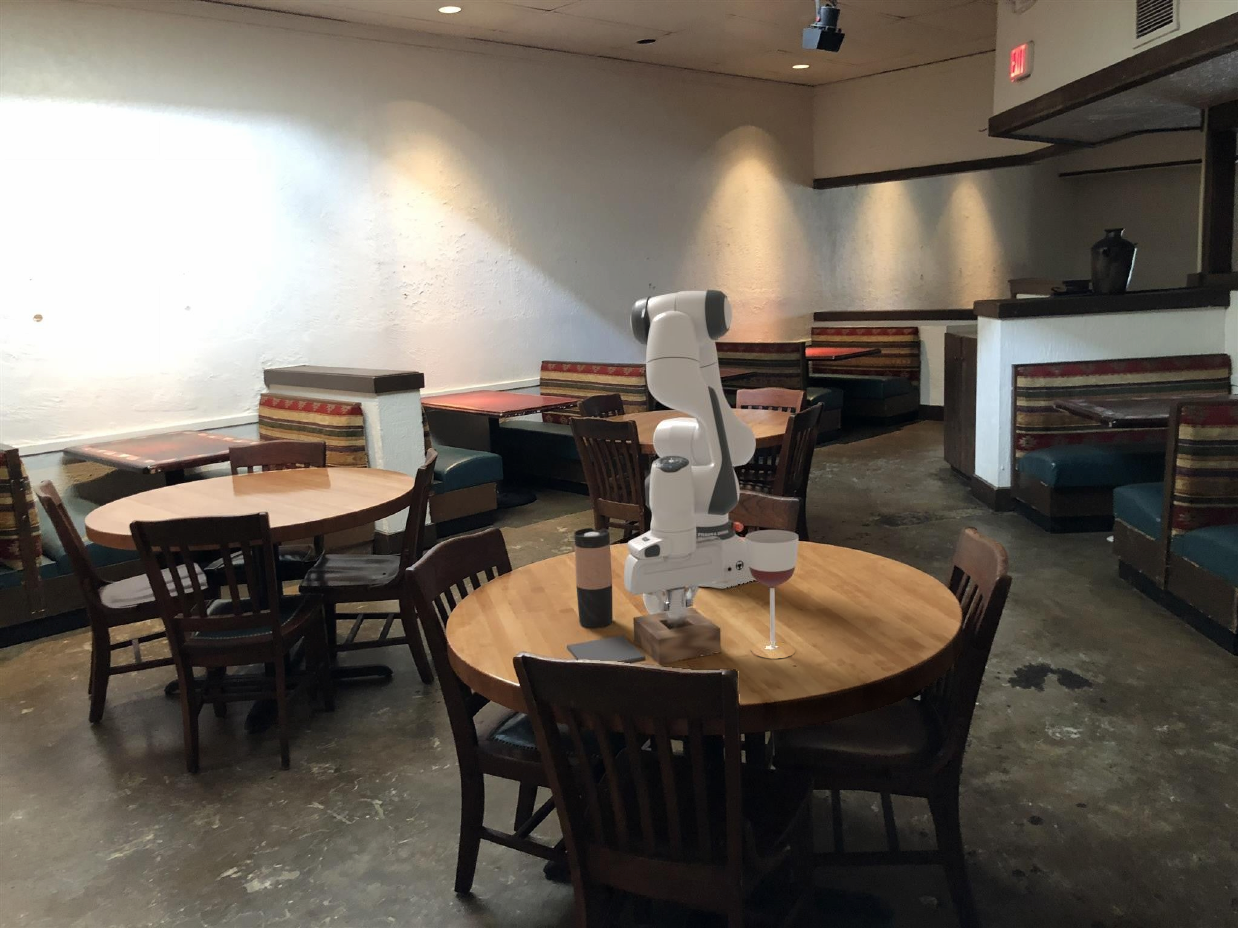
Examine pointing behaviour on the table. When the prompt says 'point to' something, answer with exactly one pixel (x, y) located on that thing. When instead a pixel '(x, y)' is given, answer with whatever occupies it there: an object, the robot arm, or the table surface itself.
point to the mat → (607, 650)
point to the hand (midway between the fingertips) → (675, 608)
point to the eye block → (676, 637)
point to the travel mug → (593, 577)
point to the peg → (676, 608)
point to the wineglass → (772, 563)
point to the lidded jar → (655, 601)
